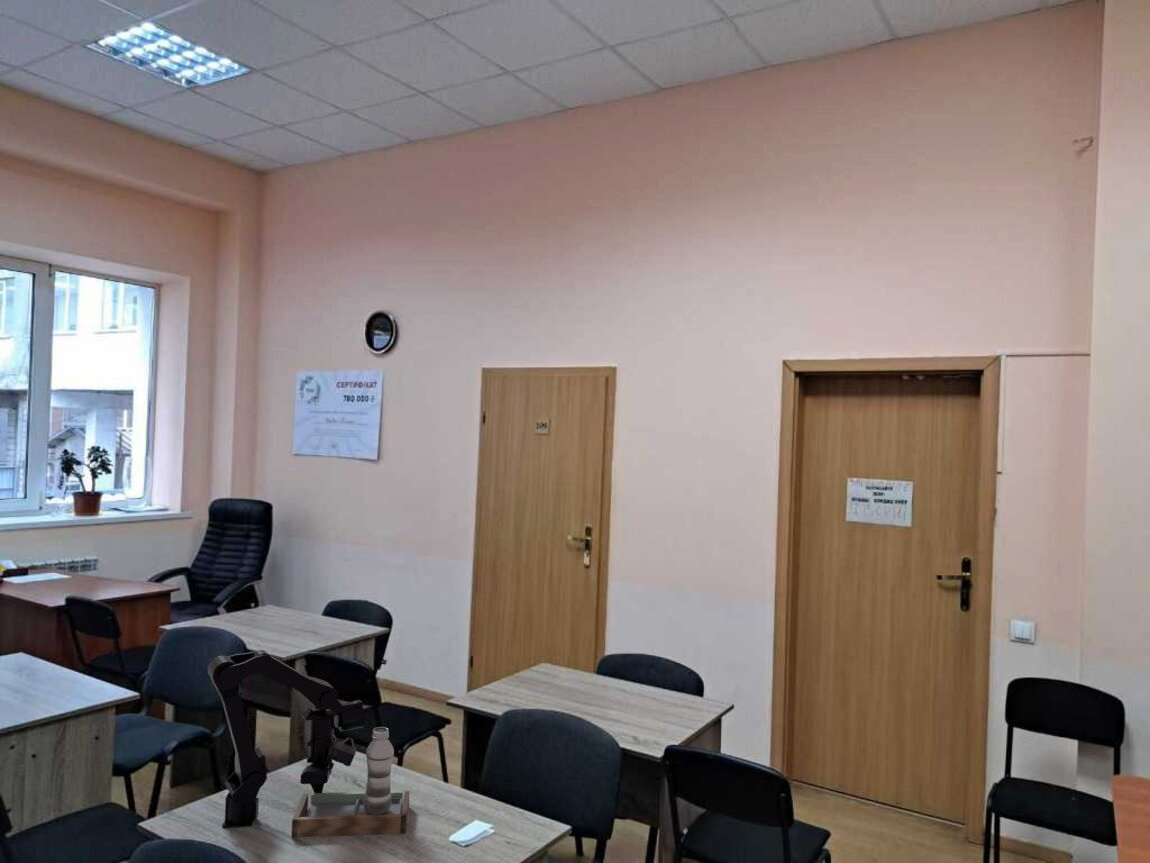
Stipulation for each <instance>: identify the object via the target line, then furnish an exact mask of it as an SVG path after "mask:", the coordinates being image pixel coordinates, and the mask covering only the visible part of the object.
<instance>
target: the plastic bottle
mask: <svg viewBox="0 0 1150 863" xmlns="http://www.w3.org/2000/svg"><path fill="white" fill-rule="evenodd" d="M389 733H390V732H389V728H387V727H385V726H378V727H374V728H373V730H372V736H371V737H372V738H371V739H372V741H371V742H370V743H369V745H368V746H367V749H366V753H365V755H366V756H365V757H366V765H367V766H366V767H367V768H366V769H367V771H366V772H367V773H366V774H367V775H366V776H367V780H366V781H367V782H366V788H365V792H366V793H365V796H364V802H363V804H364V810H365V811H366V813H367V814H370V815H382V814H385V813H387V812H388V811H389V809H390V807H391V803H392V798H391V792H390V791H391V773H392V772H391V771H392V766H393V760H394V756H395V755H394V754H395V753H394V752H395V750H394V746H393V745H392V743H391V741H390V740H389V738H390V734H389Z"/></svg>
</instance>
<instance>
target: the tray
mask: <svg viewBox="0 0 1150 863" xmlns="http://www.w3.org/2000/svg"><path fill="white" fill-rule="evenodd" d="M390 792H391V798H392V803H391V807H390V809H389V811H388V812H387V813H385V814H382V815H386V814H401V812H402V805H403V798H404V791H403V790H390ZM365 793H366V791H346V792H342V791H341V792H322V793H314V792H312V793H311V797H310V798H311V799H310V805H309V806H308V810H307V813H306V815H305V817H319V816H353V815H370V814H367V813H366V811H365V810H364V804H363V802H364V796H365Z"/></svg>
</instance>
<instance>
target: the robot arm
mask: <svg viewBox="0 0 1150 863" xmlns="http://www.w3.org/2000/svg"><path fill="white" fill-rule="evenodd" d="M259 672H264V673H265V674H268V675H270V677H273V678H274V679H276V680H278V681H280V682H282V684H285V685H287V686H288V687H290V688H293V689H294V690H295V691H297V692H299V693H300V694H301V695H303V696H304V698H306V699H307V700H308V701H309V702H310V703H312V704H313V705H314V707H316V708H317V709H312V707H310V706H309V707H307V709H306V710H305V711H304V712H302V713H301V717H302V718H303V719H304V721H309V735H308V741H307V747H308V756H307V759H306V764H309V765H307V766H305V767H304V768H303V769H302V772H301V774H300V781H299V784H302V785H310V786H311V789H312V791H313V793H323V790H324V787H325V784H327V783H328V781H329V779H330V777H331V774H332V771H333V768H334V766H335V763H334V762H336V763H339V764H343V765H344V766H346V767H350V766H351V765H352V763H353V761H354V757H355V755H356V753H357V749H358V748H356V747H357V746H356V745H355V744H354V738H350V737H346V738H345V739H344V740H343V741H342V740H340V741H336V738H337V737H336V735H335V733H334V732H335V731H334V729H335V728H336V729H337V728H338V730H339V731H340V732H345V731H350V730H356V729H363V728H365V725H366V721H367V719H366V715H365V714H366V713H365V709H364V705H363V704H364V702H363V701H362V700H361V699H357V700H353V701H348V702H341V701H340V700H339V699H338V698H339V694H338V691H337V690H336V689H335V688H334V687H333V686H332V685H331V684H330V683H329V682H328V681H327V680H323V679H321V678H317V677H314V676H309V675H306V674H304V673H302V672H300V671H298V670H297V669H295V668H293V667H292V666H290V665H289V664H286V663H285V662H283V661H281V660H279V659H277V657H274V656H272V655H271V654H269V653H268V652H267V651H266V650H265V649H264V650H263V649H257V650H254V651H251V652H245V653H243V652H242V653H235V654H232V655H229V656H228V655H222V654H221V655H218V656H215V657H214V658H212V659H211V660H210V662H209V664H208V665H207V674H208V676H209V677H210V680H211V681H212V684H213V685H214V687H215V689H216V691H217V692H218V695H219V696H220V699H221V703H222V706H223V709H224V713H225V714H224V715H225V717H226V721H227V726H228V728H229V732H230V737H231V740H232V744H233V748H234V753H235V755H234V772H233V773H232V774H231V775H230V776H229V777H228V778H227V779H226V780H225V781H224V785H225V787H226V789H227V791H228V793H227V795H226V797H225V807H224V808H225V810H224V821H223V823H222V826H221V827H222V828H233V827H235V828H236V827H237V828H239V827H241V828H242V827H252V825H253V824H254V822H255V821H256V819H257V817H258V816H259V807H260V806H259V805H260V804H259V803H260V800H259V799H260V798H259V797H258V794H259V793H260V792H259V791H260V789H261V788H262V787H263V786H264V785H265V783H266V781H267V779H268V775H267V773H269V772H270V770H269V767H268V766H267V765H266V764H267V763H266V756H265V754H264V753H263V751H262V749H261V747H259V746H258V747H256V748H254V744H253V740H252V738H251V737H252V736H251V733H250V729H249V725H248V722H247V718H246V714H245V711H244V707H243V703H242V699H241V695H240V692H241V680H242V679H243V680H244V679H246V678H248V677H250V676H252V675H254V674H256V673H259ZM333 761H334V762H333Z"/></svg>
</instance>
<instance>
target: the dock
mask: <svg viewBox="0 0 1150 863" xmlns="http://www.w3.org/2000/svg"><path fill="white" fill-rule="evenodd" d="M409 806H410V791H409V790H404V791H403V802H402V809H401V814H386V815H353V816H319V817H306V815H307V812H308V810H309V793H302V796H301V798H300V801H299V803H298V805H297V808H296V810H295V813H294V815H293V817H292V819H291V838H311V837H313V836H319V837H342V836H346V837H347V836H348V837H349V836H369V835H370V836H374V835H375V836H376V835H377V836H378V835H403V834H404V835H405V834H406V832H407V824H408V816H409V810H408V809H409V808H410V807H409ZM309 836H310V837H309Z"/></svg>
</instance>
